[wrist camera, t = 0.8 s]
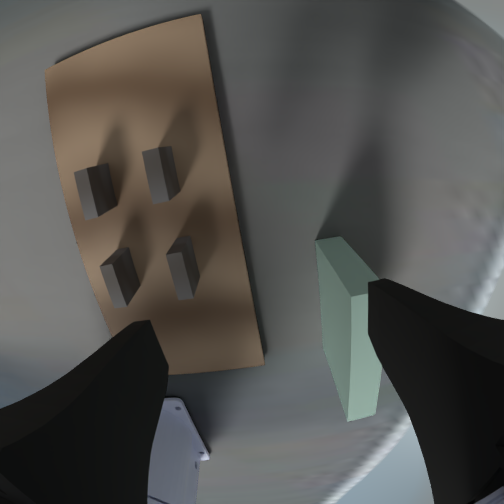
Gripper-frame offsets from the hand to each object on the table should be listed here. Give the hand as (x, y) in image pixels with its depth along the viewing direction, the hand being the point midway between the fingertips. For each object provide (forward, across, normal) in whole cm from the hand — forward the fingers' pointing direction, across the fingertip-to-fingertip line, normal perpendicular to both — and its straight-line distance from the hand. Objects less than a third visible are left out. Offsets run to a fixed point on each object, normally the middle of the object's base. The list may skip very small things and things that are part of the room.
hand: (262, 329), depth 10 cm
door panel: (+9, -4, +5) cm, 11 cm away
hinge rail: (+9, +6, -3) cm, 11 cm away
